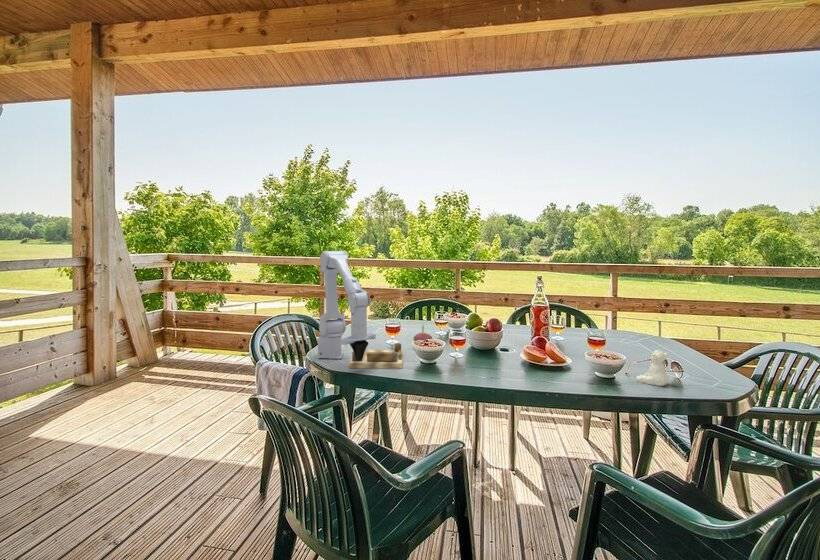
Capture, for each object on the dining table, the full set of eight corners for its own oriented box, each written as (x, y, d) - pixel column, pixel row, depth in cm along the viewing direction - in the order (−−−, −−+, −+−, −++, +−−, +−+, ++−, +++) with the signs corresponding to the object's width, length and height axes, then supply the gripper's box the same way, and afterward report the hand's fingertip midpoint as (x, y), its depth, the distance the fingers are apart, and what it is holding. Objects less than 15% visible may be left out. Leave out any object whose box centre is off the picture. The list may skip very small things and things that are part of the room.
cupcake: (432, 351, 189) (432, 324, 188) (413, 351, 189) (413, 324, 188) (431, 346, 198) (432, 320, 197) (413, 346, 198) (413, 320, 197)
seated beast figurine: (653, 377, 155) (655, 345, 154) (676, 385, 147) (678, 351, 146) (634, 381, 152) (636, 347, 150) (657, 389, 144) (659, 353, 143)
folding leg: (366, 360, 165) (366, 353, 165) (367, 359, 167) (367, 352, 167) (397, 361, 165) (397, 353, 165) (397, 359, 168) (397, 352, 167)
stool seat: (349, 368, 163) (349, 355, 163) (355, 354, 183) (355, 342, 183) (402, 368, 164) (402, 355, 163) (402, 354, 183) (402, 342, 183)
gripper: (349, 329, 151) (350, 367, 152) (380, 323, 161) (380, 359, 162) (337, 326, 156) (338, 362, 157) (368, 320, 166) (368, 355, 167)
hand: (359, 360), depth 160 cm, fingers closed
